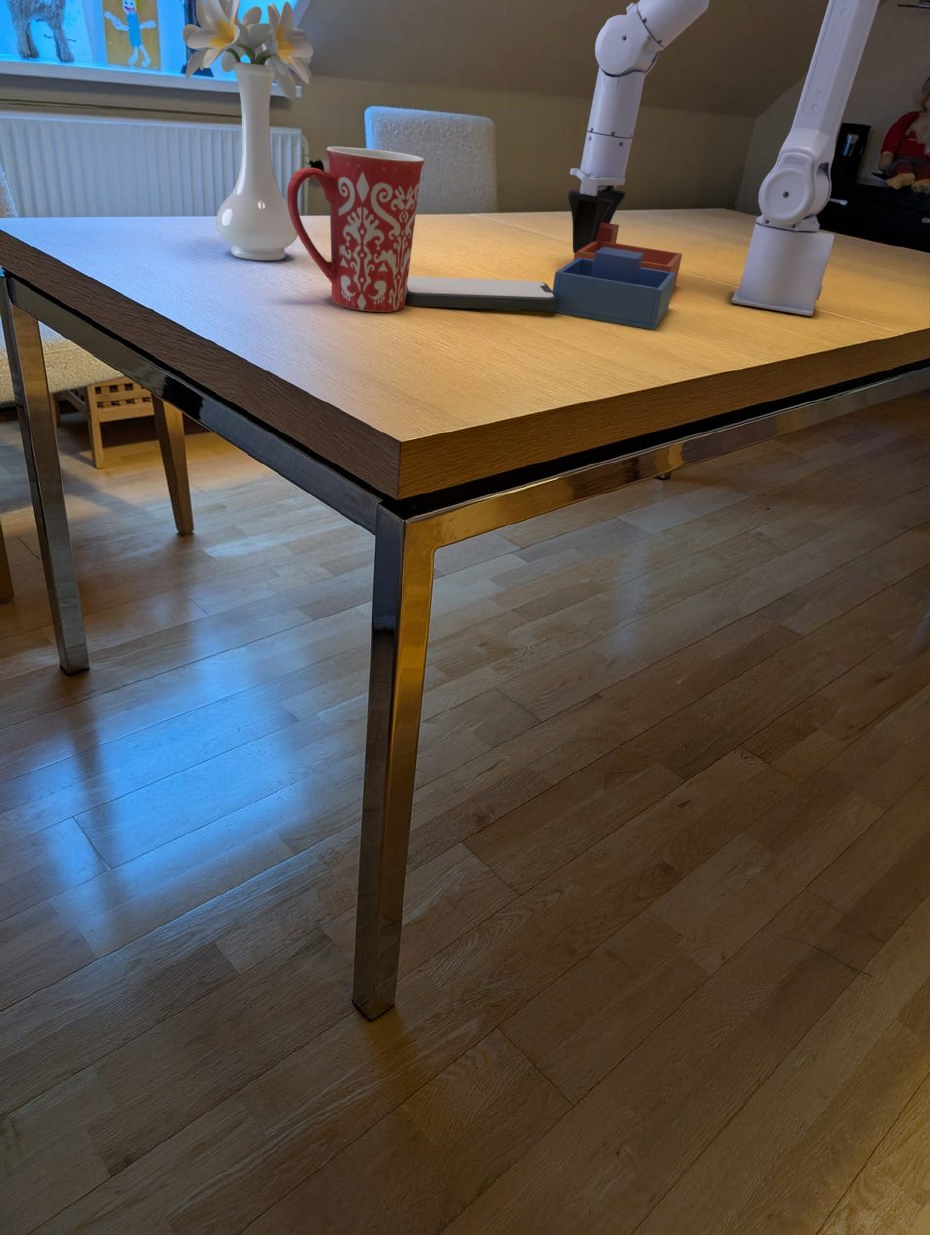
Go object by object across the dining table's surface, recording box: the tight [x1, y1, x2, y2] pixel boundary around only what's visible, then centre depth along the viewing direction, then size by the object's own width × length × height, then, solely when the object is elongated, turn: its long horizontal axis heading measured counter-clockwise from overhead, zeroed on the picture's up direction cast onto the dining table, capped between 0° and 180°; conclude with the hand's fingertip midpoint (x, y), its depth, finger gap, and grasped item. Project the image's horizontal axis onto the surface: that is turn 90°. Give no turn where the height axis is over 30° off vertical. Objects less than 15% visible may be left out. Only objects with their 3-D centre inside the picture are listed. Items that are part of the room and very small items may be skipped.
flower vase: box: [182, 0, 314, 262], centre depth 97 cm, size 13×18×25 cm
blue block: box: [591, 247, 644, 285], centre depth 95 cm, size 4×4×6 cm
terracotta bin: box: [576, 240, 683, 291], centre depth 108 cm, size 11×11×4 cm
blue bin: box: [549, 257, 676, 331], centre depth 95 cm, size 11×11×4 cm
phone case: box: [405, 275, 558, 312], centre depth 93 cm, size 9×2×16 cm
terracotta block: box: [573, 222, 620, 260], centre depth 116 cm, size 4×4×6 cm
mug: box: [286, 146, 425, 313], centre depth 84 cm, size 13×9×14 cm
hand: (586, 250), depth 117 cm, fingers open, 6 cm apart
